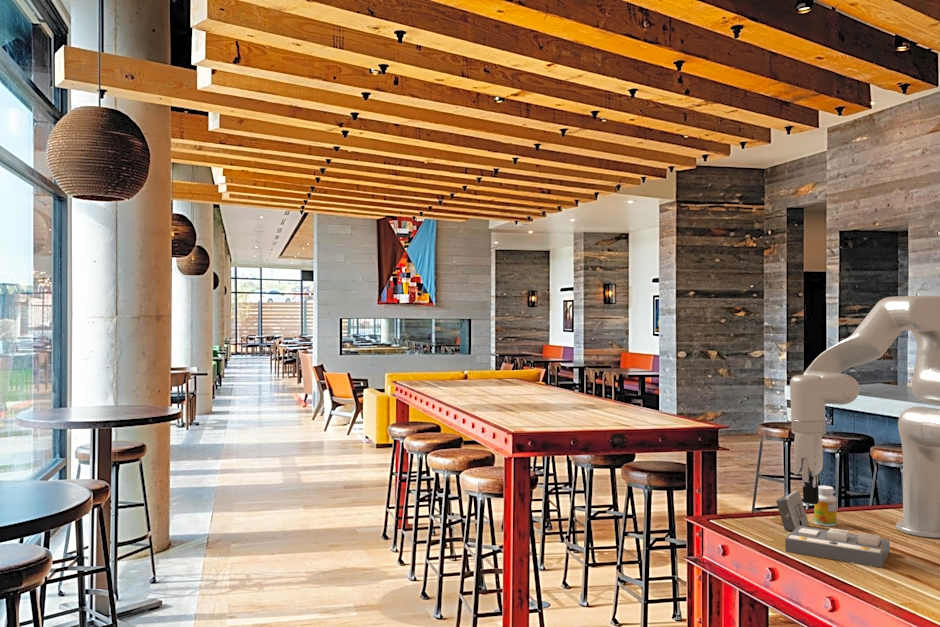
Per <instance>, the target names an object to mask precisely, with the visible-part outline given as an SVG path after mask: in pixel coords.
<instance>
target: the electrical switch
mask: <svg viewBox="0 0 940 627" xmlns="http://www.w3.org/2000/svg"><path fill="white" fill-rule="evenodd" d="M775 503H776V505H777V509H778V512H779V514H780V519H781V522H782V525H783V528H784V531H785V530H787V531H793V530H794V529H795V528H796V527H797V526H804V527H809V525H810V524H809V523H810V522H809V519H808V516H807V513H806V509H805V507H804V502H803V498H802V496H801V494H800V491H799V490H794V491H792V492H791V493H789V494H784V495H783V496H781V497H780V498H778V499H776V502H775Z"/></svg>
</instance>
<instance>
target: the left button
mask: <svg viewBox="0 0 940 627" xmlns="http://www.w3.org/2000/svg"><path fill="white" fill-rule="evenodd" d="M798 534H799V535H806V536H812V537H817V536H818V535H819V530H812V529H806V528H801V529H800V530H799V531H798Z"/></svg>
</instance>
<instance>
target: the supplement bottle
mask: <svg viewBox="0 0 940 627" xmlns="http://www.w3.org/2000/svg"><path fill="white" fill-rule="evenodd" d="M818 488H819V502H818V503H817V504H813V506H814V509H813V510H814V511H813V514H814V515H813V516H814V518H813V521H814V524H816V525H818V526H821V525H825V526H824V527H835V526H836V525H837V522H838V521H837V520H838V519H837V512H838V511H837V506H838V505H837V503H838V502H837V501H838V500H837V497H836V496H835V495H834V492H835V491H834V490H835V488H834V487H833V486H830V485H829V486H828V485H818ZM834 525H835V526H834Z"/></svg>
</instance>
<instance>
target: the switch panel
mask: <svg viewBox="0 0 940 627" xmlns="http://www.w3.org/2000/svg"><path fill="white" fill-rule="evenodd" d="M801 528H806V529H812V530H819V535H818V536H817V537H812V536H806V535H799V534H798V531H799V530H800V529H801ZM828 531H829V529H824V528H823V529H822V528H817V527H811V526H810V527H809V526H807V527H804V526H797V527H796V528H795V529H794V530H791V532H790V533H789V534H788V535H787V536H786V537H785V538H784V540H785V542H784V543H785V544H784V546H785V552H787V551H788V553H793V554H799V555H804V556H810V557H811V556H812V557H816V556H817V557H818V558H822V557H825V558H824V559H828V558H831V559H830V560H833V559H837V560H836V561H839V560H842V561H841V562H845V561H848V562H847V563H851V562H854V563H853V564H857V563H858V565H862V564H865V565H864V566H868V565H872V566H871V567H874V566H877V567H876V568H880V567H882V568H883V566H884V564H885V562H886V560H887V558H888V557H889V555H888V554H890V553H889V552H890V551H891V550H890V547H891V546H890V544H891V542H890V539H888V538H884V537H883V538H882V537H880V546H879V547H875V546H869V545H862V544H858V536H859V535H860V534H856V533H850V532H849V540H848V542H843V541H837V540H831V539H827V532H828Z"/></svg>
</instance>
